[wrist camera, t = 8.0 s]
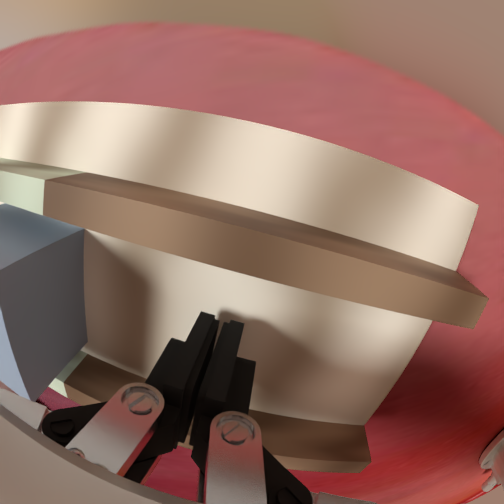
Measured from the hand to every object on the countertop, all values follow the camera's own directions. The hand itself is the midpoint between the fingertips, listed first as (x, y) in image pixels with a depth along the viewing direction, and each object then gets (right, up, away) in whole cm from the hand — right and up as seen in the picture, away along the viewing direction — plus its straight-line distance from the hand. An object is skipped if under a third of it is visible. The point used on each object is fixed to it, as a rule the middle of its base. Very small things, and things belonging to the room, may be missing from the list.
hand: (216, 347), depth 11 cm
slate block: (-9, +3, +1) cm, 10 cm away
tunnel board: (-8, +3, +3) cm, 9 cm away
